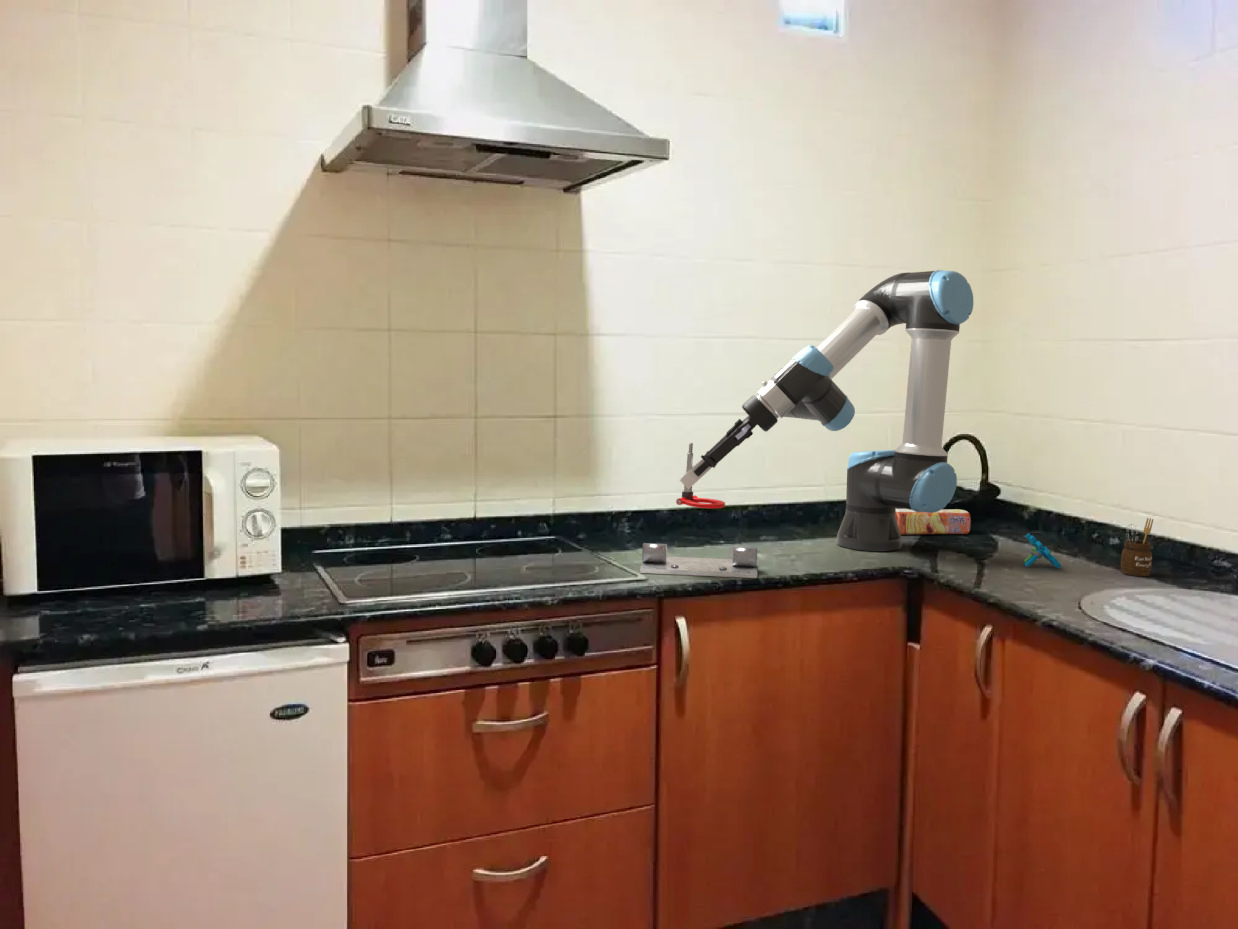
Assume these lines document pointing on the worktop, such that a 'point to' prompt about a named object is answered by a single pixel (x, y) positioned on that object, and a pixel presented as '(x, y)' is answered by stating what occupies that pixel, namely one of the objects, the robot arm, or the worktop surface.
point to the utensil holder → (1137, 555)
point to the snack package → (933, 522)
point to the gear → (1039, 553)
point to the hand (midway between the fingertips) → (684, 483)
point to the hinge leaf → (699, 563)
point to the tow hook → (688, 494)
